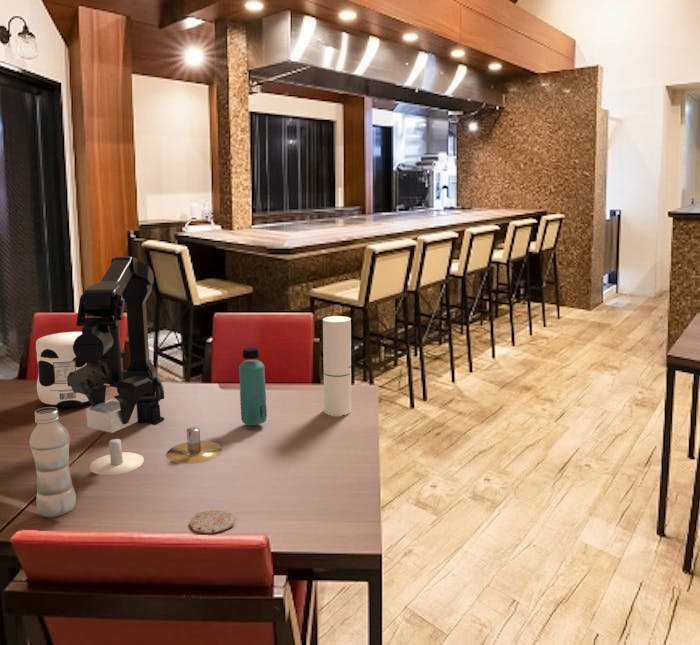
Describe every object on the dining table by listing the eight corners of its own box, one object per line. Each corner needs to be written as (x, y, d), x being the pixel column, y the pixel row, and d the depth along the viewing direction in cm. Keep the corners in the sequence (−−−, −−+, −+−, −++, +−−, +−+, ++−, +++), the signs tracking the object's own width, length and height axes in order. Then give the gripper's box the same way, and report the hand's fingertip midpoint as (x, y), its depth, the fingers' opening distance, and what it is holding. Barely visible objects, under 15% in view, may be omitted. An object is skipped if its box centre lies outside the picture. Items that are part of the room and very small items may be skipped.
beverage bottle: (262, 431, 154) (259, 352, 150) (236, 429, 156) (233, 351, 151) (271, 421, 161) (268, 345, 156) (246, 420, 162) (242, 344, 157)
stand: (78, 471, 134) (75, 446, 132) (118, 452, 143) (115, 428, 142) (116, 482, 129) (113, 456, 127) (155, 461, 138) (153, 436, 137)
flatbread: (183, 533, 111) (182, 527, 110) (200, 511, 118) (200, 506, 118) (227, 537, 109) (227, 532, 109) (242, 515, 117) (242, 510, 116)
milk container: (83, 386, 188) (77, 327, 184) (119, 398, 178) (113, 336, 175) (26, 403, 175) (18, 340, 171) (61, 416, 165) (53, 349, 161)
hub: (155, 460, 139) (152, 434, 138) (191, 440, 149) (190, 416, 148) (198, 471, 134) (196, 444, 132) (232, 449, 144) (231, 424, 143)
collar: (87, 427, 132) (85, 408, 131) (113, 416, 138) (112, 398, 137) (112, 432, 129) (110, 414, 128) (137, 421, 135) (136, 403, 134)
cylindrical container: (354, 408, 170) (354, 317, 164) (345, 417, 163) (345, 322, 158) (329, 405, 172) (328, 315, 166) (320, 414, 165) (318, 321, 160)
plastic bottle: (45, 504, 120) (33, 404, 116) (82, 503, 121) (71, 403, 116) (31, 522, 114) (18, 417, 109) (70, 521, 114) (59, 416, 110)
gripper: (40, 353, 127) (49, 426, 131) (108, 364, 119) (115, 442, 122) (86, 340, 137) (92, 409, 140) (151, 350, 129) (157, 423, 132)
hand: (112, 420), depth 134 cm, fingers closed on collar, 7 cm apart
